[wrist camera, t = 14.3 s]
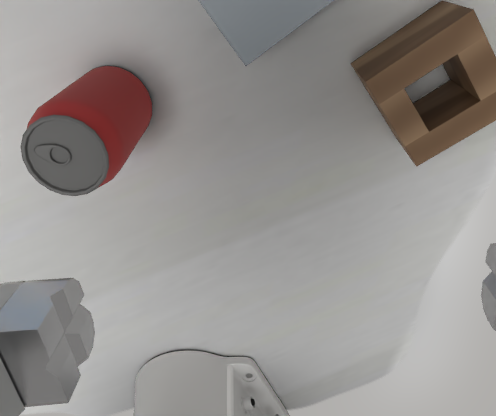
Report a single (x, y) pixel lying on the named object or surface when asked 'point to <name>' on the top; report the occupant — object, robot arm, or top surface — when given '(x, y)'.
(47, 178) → the beer can
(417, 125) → the mount
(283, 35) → the dock
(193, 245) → the top surface
